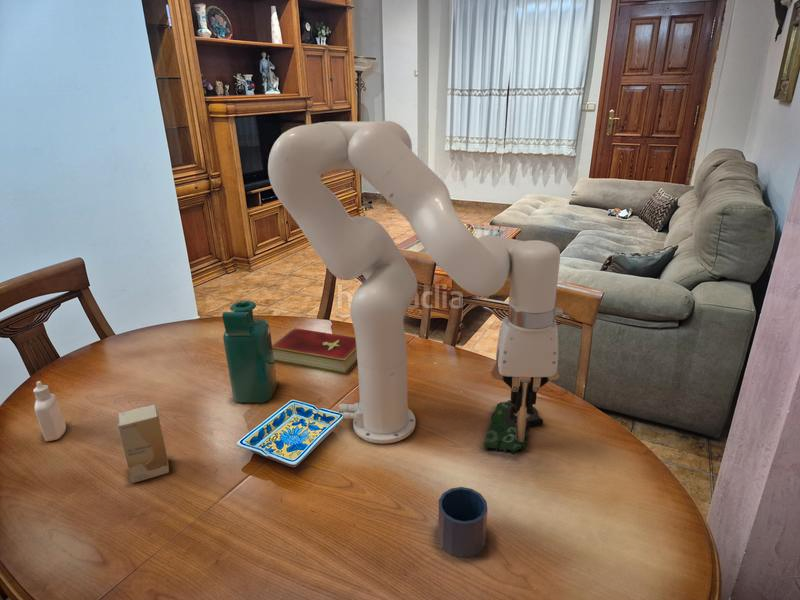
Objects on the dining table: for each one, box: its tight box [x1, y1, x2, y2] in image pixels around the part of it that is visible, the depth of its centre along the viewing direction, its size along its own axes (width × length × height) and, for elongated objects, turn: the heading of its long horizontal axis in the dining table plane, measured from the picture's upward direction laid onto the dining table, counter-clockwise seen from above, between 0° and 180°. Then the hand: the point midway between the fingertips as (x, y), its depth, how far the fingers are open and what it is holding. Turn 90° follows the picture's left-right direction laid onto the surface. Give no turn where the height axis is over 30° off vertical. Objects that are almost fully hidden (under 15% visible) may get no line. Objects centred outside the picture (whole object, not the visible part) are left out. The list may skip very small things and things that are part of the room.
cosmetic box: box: [117, 403, 170, 484], centre depth 90 cm, size 6×4×12 cm
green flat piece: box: [483, 399, 544, 456], centre depth 101 cm, size 16×2×10 cm
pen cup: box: [437, 486, 488, 559], centre depth 76 cm, size 7×7×7 cm
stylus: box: [515, 377, 530, 443], centre depth 93 cm, size 2×2×13 cm
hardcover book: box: [272, 327, 358, 376], centre depth 130 cm, size 12×21×4 cm, turn 70°
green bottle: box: [222, 300, 278, 404], centre depth 110 cm, size 10×8×22 cm
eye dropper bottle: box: [32, 380, 67, 442], centre depth 101 cm, size 4×6×12 cm
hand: (522, 406), depth 93 cm, fingers closed on stylus, 1 cm apart
